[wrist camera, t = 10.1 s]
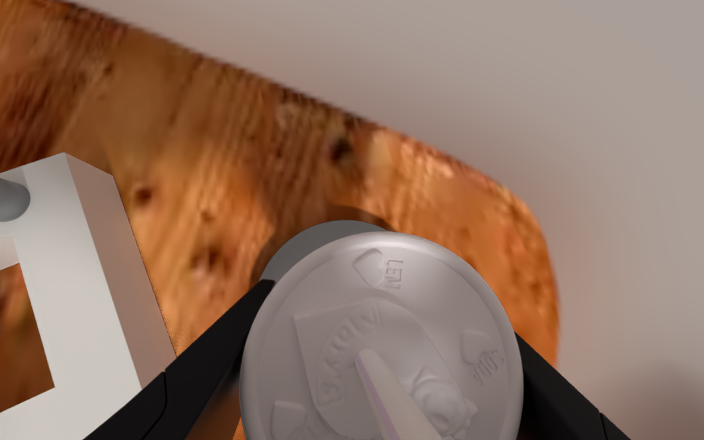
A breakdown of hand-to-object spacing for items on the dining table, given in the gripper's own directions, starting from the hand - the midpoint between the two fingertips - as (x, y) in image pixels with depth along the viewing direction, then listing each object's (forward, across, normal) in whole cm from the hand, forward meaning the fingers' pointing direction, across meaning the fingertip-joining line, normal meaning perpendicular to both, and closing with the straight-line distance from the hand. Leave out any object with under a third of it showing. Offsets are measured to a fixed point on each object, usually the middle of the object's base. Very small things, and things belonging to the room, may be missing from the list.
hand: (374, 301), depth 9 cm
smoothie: (+4, 0, +6) cm, 7 cm away
